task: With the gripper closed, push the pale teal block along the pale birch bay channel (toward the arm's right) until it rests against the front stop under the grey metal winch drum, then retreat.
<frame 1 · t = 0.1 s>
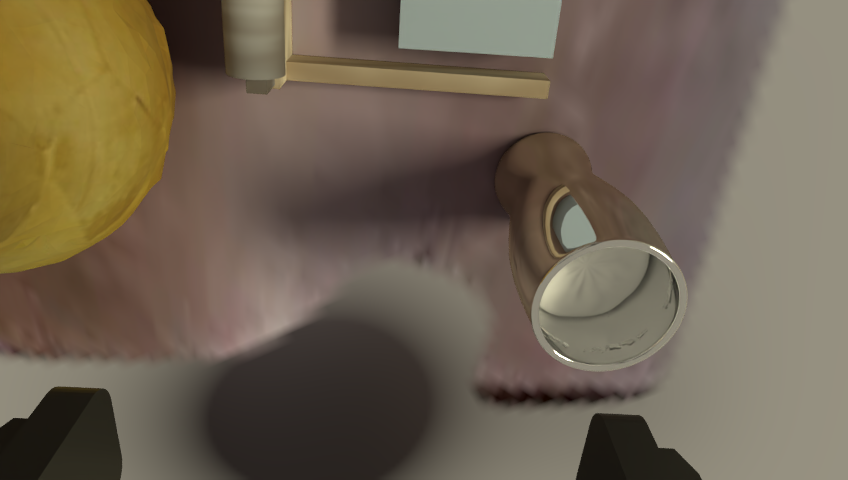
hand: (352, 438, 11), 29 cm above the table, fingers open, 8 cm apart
pitcher: (61, 39, 36), on the table
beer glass: (541, 177, 40), on the table
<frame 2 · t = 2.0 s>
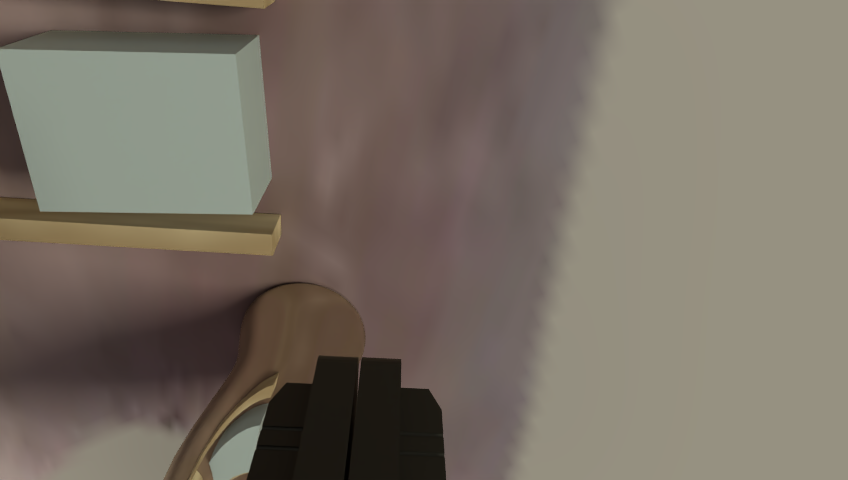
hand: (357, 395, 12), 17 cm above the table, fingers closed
pale teal block: (169, 106, 26), on the table
bay: (79, 102, 26), on the table
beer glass: (304, 332, 32), on the table
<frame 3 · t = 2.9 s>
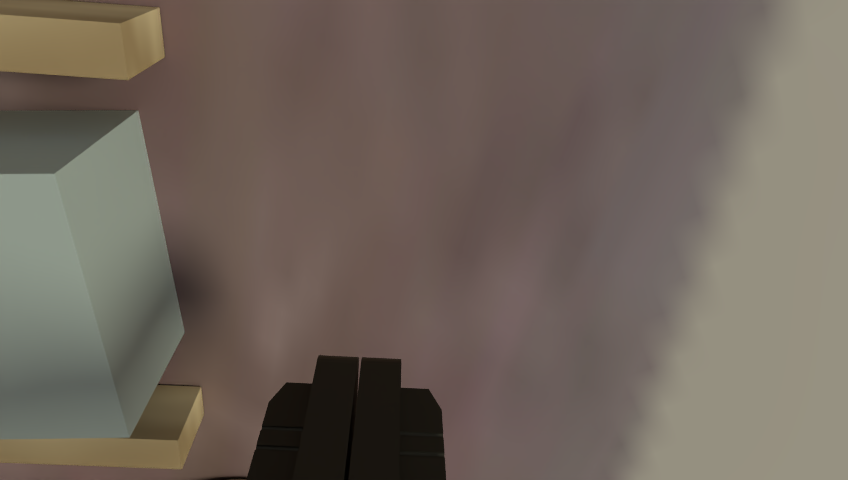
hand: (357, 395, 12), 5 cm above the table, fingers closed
pale teal block: (1, 228, 16), on the table
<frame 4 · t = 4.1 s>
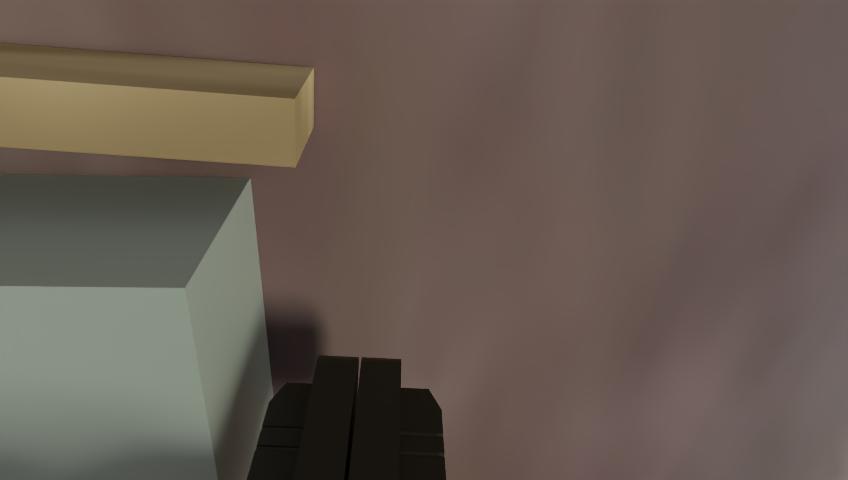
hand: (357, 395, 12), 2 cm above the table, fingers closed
pale teal block: (68, 308, 13), on the table
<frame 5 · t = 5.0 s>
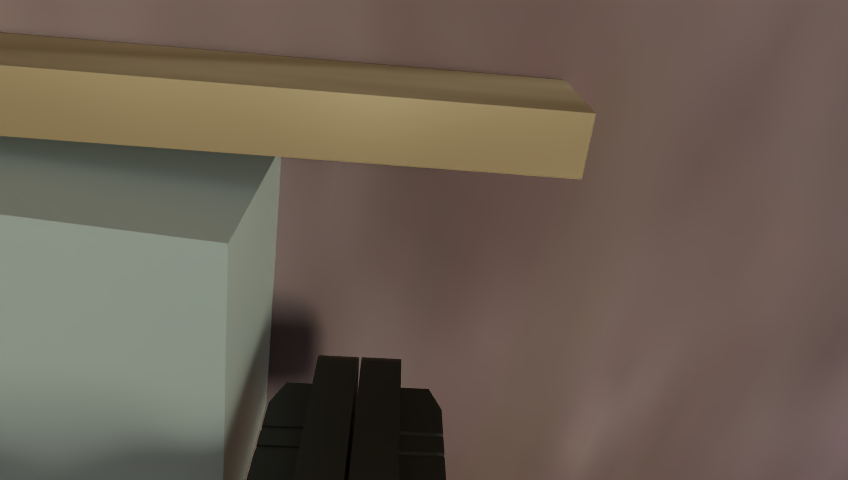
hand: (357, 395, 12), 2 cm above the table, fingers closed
pale teal block: (69, 256, 12), on the table, touching gripper
bay: (121, 320, 13), on the table
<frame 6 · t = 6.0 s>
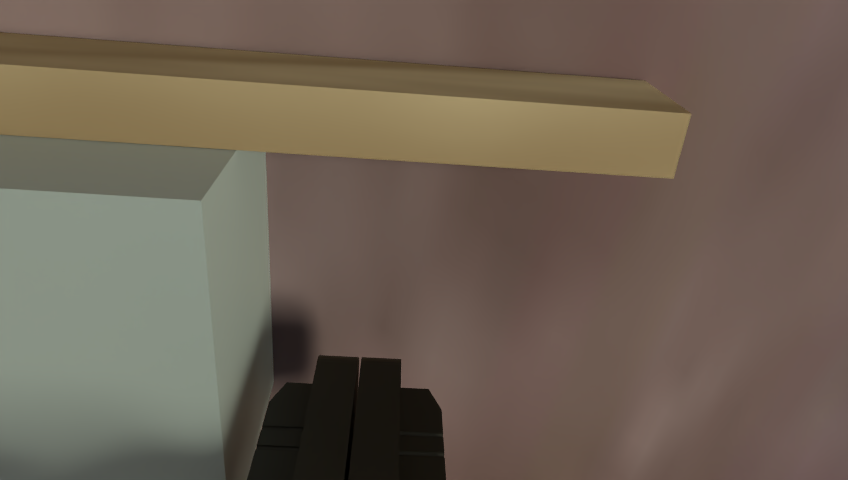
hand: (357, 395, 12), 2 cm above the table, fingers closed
pale teal block: (61, 245, 12), on the table, touching gripper
bay: (196, 322, 13), on the table
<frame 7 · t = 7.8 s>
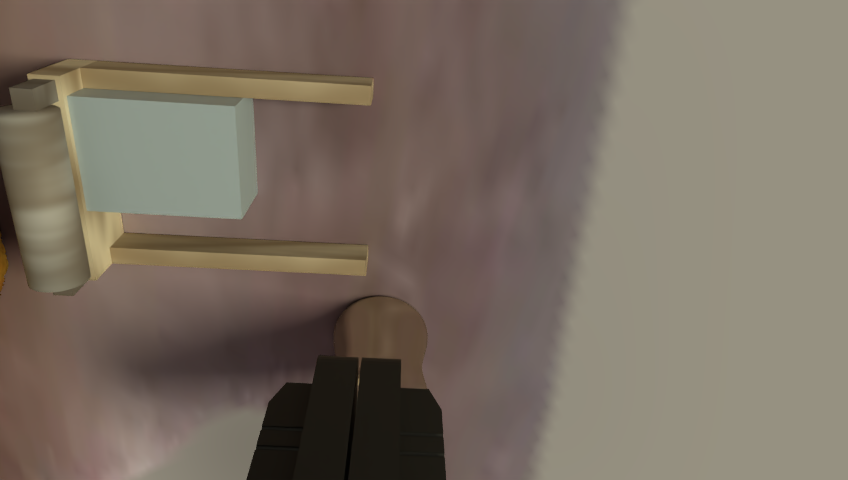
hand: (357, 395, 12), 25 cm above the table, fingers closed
pale teal block: (184, 137, 36), on the table
bay: (229, 166, 36), on the table
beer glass: (381, 333, 41), on the table
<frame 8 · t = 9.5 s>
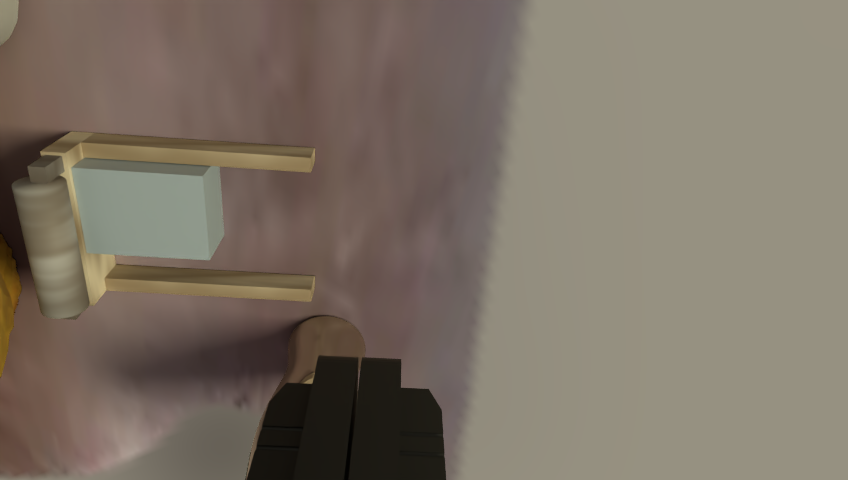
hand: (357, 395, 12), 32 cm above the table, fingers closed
pale teal block: (164, 191, 44), on the table
bay: (200, 214, 45), on the table
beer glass: (327, 345, 51), on the table
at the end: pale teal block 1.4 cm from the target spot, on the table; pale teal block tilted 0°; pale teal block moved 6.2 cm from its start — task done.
